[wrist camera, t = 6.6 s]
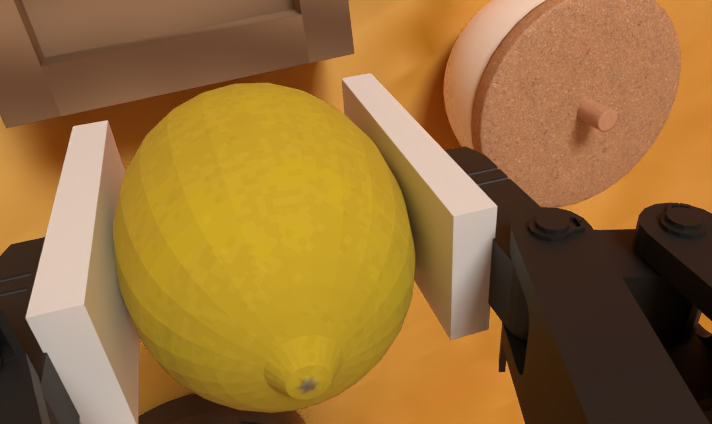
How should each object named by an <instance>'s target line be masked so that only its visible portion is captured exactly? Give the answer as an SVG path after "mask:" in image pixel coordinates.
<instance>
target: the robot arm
mask: <svg viewBox="0 0 712 424" xmlns="http://www.w3.org/2000/svg"><path fill="white" fill-rule="evenodd" d="M342 89H343V101H344V112H345V115H346V116H347V117H348V118H349V119H350V120H351V121H352V122H353V123H354V124H355V125H357V126H358V127H359V128H360V129H361V130H362V131H363V132H364V133H365V134H366V135H367V136H368V137H370V139H371V140H372V141H373V142H374V144H375V145H376V146H377V148H378V150H379V151H380V153H381V155H382V156H383V158H384V160H385V161H386V163H387V165H388V167H389V168H390V170H391V172H392V173H393V175H394V177H395V179H396V180H397V182H398V185H399V187H400V189H401V192H402V195H403V198H404V201H405V205H406V209H407V213H408V218H409V223H410V227H411V232H412V236H413V241H414V248H415V272H414V280H415V282H416V284H417V285H418V287H419V289H420V290H421V292H422V294H423V295H424V297H425V299H426V300H427V302H428V303H429V305H430V307H431V308H432V310H433V312H434V313H435V315H436V317H437V318H438V320H439V322H440V323H441V325H442V327H443V328H444V330H445V332H446V333H447V335H448V336H449V338H450V340H453V339H456V338H460V337H463V336H467V335H470V334H474V333H477V332H481V331H485V330H488V329H489V315H490V306H491V307H492V309H493V310H494V311H495V313H496V314H497V315H498V317H499V318H500V319H501V321H502V331H501V342H500V353H499V372H505V366H506V361H507V363H508V367H509V370H510V373H511V377H512V380H513V384H514V387H515V390H516V394H517V397H518V400H519V404H520V407H521V411H522V414H523V417H524V421H525V424H712V334H711V333H710V332H708V331H707V330H705V329H704V328H703V327H702V326H701V325H700V324H699V323H698V322H699V319H700V316H701V313H703V314H704V315H706V316H707V317H708V318H709V319H710V320H711V321H712V214H711V213H709V212H707V211H705V210H704V209H700V208H697V207H694V206H691V205H688V204H682V203H680V204H678V203H662V204H655V205H652V206H649V207H647V208H645V209H644V210H643V211H642V212H641V213H640V215H639V217H638V222H637V226H636V229H624V230H593V228H592V227H591V225H590V224H589V223H588V222H587V221H586V220H585V219H584V218H582V217H581V216H579V215H577V214H575V213H573V212H571V211H567V210H563V209H559V208H549V207H540V206H539V205H538V204H537V203H536V202H535V201H534V200H533V199H532V198H531V197H530V196H528V195H527V194H526V193H525V192H524V191H523V190H522V189H521V188H520V187H519V186H518V185H517V184H516V183H515V182H514V181H512V180H511V179H508V176H507V175H506V174H505V173H504V172H503V171H502V170H501V169H498V167H497V166H496V165H495V164H494V163H493V162H492V161H491V160H490V159H489V158H488V157H487V156H486V155H484V154H482V153H480V152H477V151H475V150H473V149H470V148H468V147H466V146H464V147H460V148H455V149H450V150H445V151H444V150H443V149H442V148H441V146H440V145H439V144H438V143H437V142H436V141H435V140H434V139H433V138H432V137H431V136H430V135H429V134H428V133H427V132H426V131H425V130H424V129H423V128H422V127H421V126H420V124H419V123H418V122H417V121H416V120H415V119H414V118H413V117H412V116H411V115H410V114H409V113H408V112H407V111H406V110H405V109H404V108H403V107H402V106H401V105H400V103H399V102H398V101H397V100H396V99H395V98H394V97H393V96H392V95H391V94H390V93H389V92H388V91H387V90H386V89H385V88H384V87H383V86H382V85H381V84H380V82H379V81H378V80H377V79H376V78H375V77H374V76H373V75H372V74H371V73H369V74H364V75H358V76H352V77H347V78H342ZM124 173H125V170H124V167H123V164H122V161H121V158H120V155H119V152H118V149H117V146H116V143H115V140H114V137H113V134H112V131H111V128H110V125H109V122H108V120H106V121H100V122H94V123H89V124H83V125H78V126H73V128H72V132H71V136H70V140H69V144H68V148H67V152H66V156H65V160H64V164H63V169H62V173H61V177H60V181H59V185H58V189H57V193H56V197H55V201H54V205H53V209H52V213H51V217H50V221H49V225H48V229H47V233H46V237H44V238H39V239H34V240H30V241H25V242H20V243H16V244H11V245H10V246H9V247H8V248H7V249H6V250H5V251H4V252H3V254H2V255H1V256H0V424H79V422H80V424H305V422H304V420H303V419H302V418H301V416H300V415H299V414H298V413H297V412H296V411H295V410H294V411H284V412H274V413H268V412H256V411H245V410H238V409H234V408H231V407H228V406H224V405H221V404H218V403H215V402H212V401H209V400H207V399H204V398H203V397H201V396H199V395H198V394H193V395H189V396H185V397H182V398H178V399H175V400H173V401H170V402H167V403H165V404H162V405H160V406H158V407H156V408H154V409H152V410H150V411H148V412H146V413H145V414H143V415H141V416H140V417H138V414H139V334H138V332H137V330H136V327H135V325H134V323H133V321H132V318H131V316H130V314H129V312H128V309H127V307H126V305H125V302H124V299H123V297H122V294H121V291H120V287H119V283H118V279H117V273H116V265H115V254H114V243H113V219H114V212H115V208H116V204H117V200H118V196H119V192H120V187H121V183H122V180H123V176H124Z"/></svg>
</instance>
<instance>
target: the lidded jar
mask: <svg viewBox="0 0 712 424" xmlns="http://www.w3.org/2000/svg"><path fill="white" fill-rule="evenodd" d="M679 77H680V47H679V42H678V37H677V34H676V31H675V29H674V26H673V23H672V21H671V19H670V18H669V16H668V15H667V13H666V12H665V10H664V9H663V8H662V7H661V6H660V5H659V4H658V3H657V2H656V1H655V0H491V1H490V2H488V3H487V4H486V5H485V6H483V7H482V8H481V9H480V10H479V11H478V12H477V13H476V14H475V15H474V16H473V17H472V18H471V20H470V21H469V22H468V23H467V24H466V25H465V27H464V28H463V30H462V31H461V33H460V35H459V36H458V38H457V40H456V42H455V44H454V46H453V48H452V50H451V53H450V56H449V59H448V62H447V65H446V70H445V76H444V89H443V93H444V102H445V109H446V113H447V117H448V120H449V124H450V126H451V128H452V130H453V132H454V134H455V136H456V138H457V140H458V142H459V144H460V145H461V146H462V147H464V146H466V147H468V148H470V149H473V150H475V151H477V152H480V153H482V154H484V155H486V156H487V157H488V158H489V159H490V160H491V161H492V162H493V163H494V164H495V165H496V166H497V167H498V169H501V170H502V171H503V172H504V173H505V174H506V175H507V176H508V179H511V180H512V181H514V182H515V183H516V184H517V185H518V186H519V187H520V188H521V189H522V190H523V191H524V192H525V193H526V194H527V195H528V196H530V197H531V198H532V199H533V200H534V201H535V202H536V203H537V204H538V205H539V206H540V207H549V208H553V207H562V206H567V205H572V204H576V203H578V202H581V201H583V200H586V199H589V198H591V197H593V196H595V195H597V194H599V193H601V192H603V191H604V190H606V189H607V188H608V187H610V186H611V185H613V184H614V183H616V182H617V181H618V180H619V179H621V178H622V177H623V176H624V175H626V174H627V173H628V172H629V171H630V170H631V169H632V168H633V167H634V166H635V165H636V164H637V163H638V162H639V161H640V160H641V158H642V157H643V156H644V155H645V153H646V152H647V151H648V150H649V149H650V147H651V146H652V144H653V143H654V141H655V140H656V138H657V137H658V135H659V133H660V132H661V130H662V128H663V126H664V124H665V122H666V120H667V118H668V116H669V114H670V111H671V108H672V106H673V103H674V100H675V96H676V93H677V89H678V85H679Z"/></svg>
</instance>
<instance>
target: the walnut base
mask: <svg viewBox="0 0 712 424" xmlns="http://www.w3.org/2000/svg"><path fill="white" fill-rule="evenodd" d="M350 54H354V47H353V38H352V29H351V21H350V12H349V4H348V0H0V115H1V118H2V120H3V122H4V124H5V126H6V128H9V127H14V126H19V125H23V124H28V123H33V122H37V121H42V120H47V119H51V118H56V117H61V116H65V115H70V114H75V113H79V112H84V111H89V110H93V109H98V108H103V107H107V106H112V105H117V104H121V103H126V102H131V101H135V100H140V99H145V98H149V97H154V96H159V95H163V94H168V93H173V92H177V91H182V90H187V89H191V88H196V87H201V86H205V85H210V84H215V83H219V82H224V81H229V80H233V79H238V78H243V77H247V76H252V75H257V74H261V73H266V72H271V71H275V70H280V69H285V68H289V67H294V66H299V65H303V64H308V63H313V62H317V61H322V60H327V59H331V58H336V57H341V56H345V55H350Z"/></svg>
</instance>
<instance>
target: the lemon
mask: <svg viewBox="0 0 712 424" xmlns="http://www.w3.org/2000/svg"><path fill="white" fill-rule="evenodd" d="M113 243H114V254H115V265H116V273H117V279H118V283H119V287H120V291H121V294H122V297H123V299H124V302H125V305H126V307H127V309H128V312H129V314H130V316H131V318H132V321H133V323H134V325H135V327H136V330H137V332H138V334H139V336H140V338H141V340H142V342H143V344H144V345H145V347H146V348H147V349H148V351H149V352H150V353H151V355H152V356H153V357H154V358H155V359H156V361H157V362H158V363H159V364H160V365H161V366H162V367H163V368H164V369H165V370H166V371H167V373H168V374H169V375H170V376H171V377H172V378H173V379H175V380H176V381H177V382H179V383H180V384H181V385H182V386H184V387H186V388H187V389H189V390H191V391H193V392H194V393H196V394H198V395H199V396H201V397H203V398H204V399H207V400H209V401H212V402H215V403H218V404H221V405H224V406H228V407H231V408H234V409H238V410H245V411H256V412H268V413H274V412H284V411H294V410H298V409H302V408H305V407H309V406H313V405H316V404H319V403H321V402H324V401H326V400H328V399H330V398H332V397H335V396H337V395H339V394H341V393H342V392H343V391H345V390H346V389H348V388H349V387H351V386H352V385H354V384H355V383H357V382H358V381H359V380H360V379H362V378H363V377H364V376H365V375H366V374H367V373H368V372H369V371H370V370H371V369H372V368H373V367H374V366H375V365H376V364H377V363H378V362H379V361H380V360H381V359H382V357H383V356H384V355H385V353H386V352H387V350H388V349H389V347H390V346H391V344H392V343H393V341H394V340H395V338H396V337H397V335H398V333H399V332H400V330H401V327H402V325H403V322H404V319H405V317H406V314H407V311H408V309H409V306H410V302H411V298H412V295H413V285H414V272H415V248H414V241H413V236H412V232H411V227H410V223H409V218H408V213H407V209H406V205H405V201H404V198H403V195H402V192H401V189H400V187H399V185H398V182H397V180H396V179H395V177H394V175H393V173H392V172H391V170H390V168H389V167H388V165H387V163H386V161H385V160H384V158H383V156H382V155H381V153H380V151H379V150H378V148H377V146H376V145H375V144H374V142H373V141H372V140H371V139H370V137H368V136H367V135H366V134H365V133H364V132H363V131H362V130H361V129H360V128H359V127H358V126H357V125H355V124H354V123H353V122H352V121H351V120H350V119H349V118H348V117H347V116H346V115H345V114H344V113H342V112H341V111H340V110H339V109H337V108H336V107H334V106H332V105H330V104H328V103H326V102H324V101H323V100H321V99H319V98H317V97H315V96H313V95H311V94H309V93H307V92H305V91H302V90H299V89H295V88H290V87H286V86H281V85H276V84H272V83H242V84H232V85H228V86H225V87H221V88H217V89H214V90H210V91H206V92H203V93H201V94H199V95H197V96H195V97H194V98H192V99H190V100H188V101H186V102H185V103H183V104H181V105H179V106H178V107H176V108H174V109H173V110H172V111H171V112H170V113H168V114H167V115H166V116H165V117H164V118H163V119H162V120H161V121H160V122H159V123H158V124H157V125H156V126H155V127H154V128H153V129H152V130H151V131H150V132H149V133H148V134H147V135H146V136H145V138H144V140H143V141H142V143H141V145H140V147H139V148H138V150H137V152H136V153H135V155H134V157H133V158H132V160H131V162H130V164H129V165H128V167H127V169H126V171H125V173H124V176H123V180H122V183H121V187H120V192H119V196H118V200H117V204H116V208H115V212H114V219H113Z"/></svg>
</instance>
